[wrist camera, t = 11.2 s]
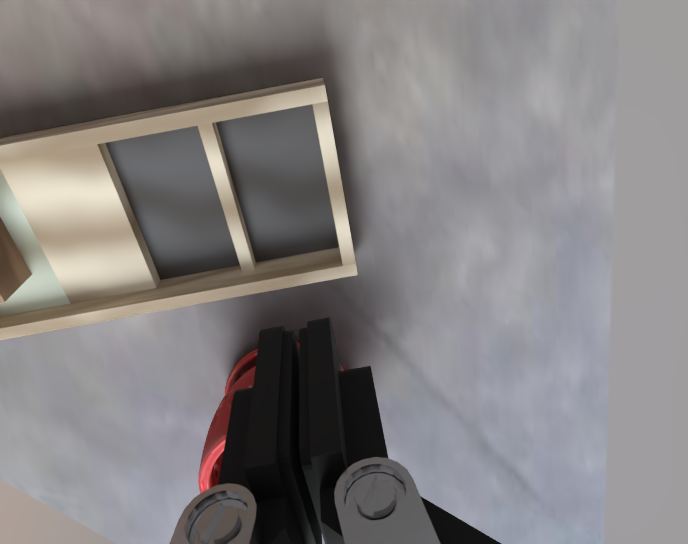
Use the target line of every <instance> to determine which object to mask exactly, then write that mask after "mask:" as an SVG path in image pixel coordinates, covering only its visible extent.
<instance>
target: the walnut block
mask: <svg viewBox="0 0 688 544" xmlns="http://www.w3.org/2000/svg"><path fill="white" fill-rule="evenodd" d="M31 275H32V273H31V271H30V270H29V268H28V266H27V264H26V262H25V261H24V259H23V257H22V255H21V253H20V252H19V250H18V248H17V246H16V244H15V242H14V241H13V239H12V237H11V235H10V233H9V232H8V230H7V228H6V226H5V224H4V223H3V221H2V219H1V217H0V303H3V302H6V300H7V299H8V298H9V297H10V296H11V295H12V294H13V293H14V292H15V291H16V290H17V289H18V288H19V287H20V286H21V285H22V284H23V283H24V282H25V281H26V280H27V279H28V278H29V277H30V276H31Z"/></svg>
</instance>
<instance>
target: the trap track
mask: <svg viewBox="0 0 688 544" xmlns="http://www.w3.org/2000/svg"><path fill="white" fill-rule="evenodd" d="M0 217H1V219H2V221H3V223H4V224H5V226H6V228H7V230H8V232H9V233H10V235H11V237H12V239H13V241H14V242H15V244H16V246H17V248H18V250H19V252H20V253H21V255H22V257H23V259H24V261H25V262H26V264H27V266H28V268H29V270H30V271H31V273H32V275H31V276H30V277H29V278H28V279H27V280H26V281H25V282H24V283H23V284H22V285H21V286H20V287H19V288H18V289H17V290H16V291H15V292H14V293H13V294H12V295H11V296H10V297H9V298H8V299H7V300H6V302H3V303H0V340H4V339H9V338H15V337H20V336H25V335H31V334H36V333H42V332H47V331H53V330H58V329H64V328H69V327H75V326H80V325H86V324H91V323H97V322H102V321H108V320H113V319H119V318H124V317H130V316H135V315H141V314H146V313H152V312H157V311H163V310H168V309H174V308H179V307H185V306H190V305H195V304H201V303H206V302H212V301H217V300H223V299H228V298H234V297H239V296H245V295H250V294H256V293H261V292H267V291H272V290H278V289H283V288H289V287H294V286H300V285H305V284H311V283H316V282H322V281H327V280H333V279H338V278H344V277H349V276H355V275H358V273H357V267H356V262H355V256H354V250H353V244H352V239H351V233H350V227H349V221H348V215H347V210H346V204H345V198H344V192H343V187H342V181H341V175H340V169H339V164H338V158H337V152H336V146H335V140H334V135H333V129H332V123H331V117H330V112H329V106H328V100H327V94H326V89H325V84H324V80H323V78H318V79H313V80H308V81H302V82H297V83H292V84H286V85H281V86H275V87H270V88H265V89H259V90H254V91H249V92H243V93H238V94H233V95H227V96H222V97H217V98H211V99H206V100H201V101H195V102H190V103H184V104H179V105H174V106H168V107H163V108H158V109H152V110H147V111H142V112H136V113H131V114H126V115H120V116H115V117H110V118H104V119H99V120H93V121H88V122H83V123H77V124H72V125H67V126H61V127H56V128H51V129H45V130H40V131H35V132H29V133H24V134H19V135H13V136H8V137H3V138H0Z"/></svg>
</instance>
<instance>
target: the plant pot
mask: <svg viewBox="0 0 688 544" xmlns="http://www.w3.org/2000/svg"><path fill="white" fill-rule="evenodd" d="M297 345H298V348H299V342H297ZM257 351H258V349H256V350H254V351H252V352H250V353H249V354H247V355H246V356H245V357H243V358H242V359H241V360H240V361H239V362H238V363H237V364H236V366H235V367H234V368H233V370H232V371H231V373H230V375H229V378H228V380H227V383H226V387H225V396H224V398H223V400H222V401H221V403H220V405H219V407H218V409H217V411H216V413H215V415H214V418H213V420H212V422H211V425H210V428H209V431H208V435H207V438H206V442H205V445H204V449H203V454H202V459H201V464H200V470H199V489H200V493H202V492H203V491H205V490H207V489H209V488H212V487H214V486H216V485H218V482H219V476H220V470H221V464H222V459H223V453H224V447H225V441H226V435H227V429H228V423H229V418H230V412H231V406H232V400H233V396H234V392H235V391H236V390H240V389H245V388H251V387H253V384H254V376H255V368H256V359H257ZM340 365H341V364H340ZM341 370H342V371H345V370H344V368H343V367H342V365H341Z"/></svg>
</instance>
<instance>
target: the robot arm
mask: <svg viewBox="0 0 688 544" xmlns="http://www.w3.org/2000/svg"><path fill="white" fill-rule="evenodd" d="M322 535H323V538H324V541H325V544H501V543H499V542H497V541H496V540H494V539H492V538H491V537H489V536H487V535H485V534H484V533H482V532H480V531H479V530H477V529H475V528H474V527H472V526H470V525H468V524H467V523H465V522H463V521H462V520H460V519H458V518H456V517H455V516H453V515H451V514H450V513H448V512H446V511H445V510H443V509H441V508H439V507H438V506H436V505H434V504H433V503H431V502H429V501H427V500H426V499H424V498H422V497H421V496H420V495H419V492H418V490H417V487H416V485H415V483H414V480H413V478H412V477H411V475H410V474H409V472H408V470H407V469H406V468H405V467H403V466H402V465H401V464H399V463H398V462H396V461H393V460H391V459H388V454H387V449H386V444H385V439H384V434H383V429H382V423H381V418H380V413H379V408H378V403H377V398H376V392H375V387H374V382H373V377H372V372H371V367H370V366H367V367H362V368H356V369H351V370H345V371H342V370H341V365H340V361H339V356H338V351H337V347H336V342H335V338H334V333H333V328H332V324H331V320H330V318H324V319H319V320H313V321H308V322H307V328H303V329H300V331H299V348H298V345H297V341H296V337H295V334H294V331H293V330H292V331H286V330H285V328H284V326H280V327H275V328H269V329H264V330H261V331H260V335H259V343H258V351H257V359H256V368H255V376H254V384H253V387H251V388H245V389H240V390H236V391H235V392H234V396H233V400H232V406H231V412H230V418H229V423H228V429H227V435H226V441H225V447H224V453H223V459H222V464H221V470H220V476H219V482H218V485H216V486H214V487H212V488H209V489H207V490H205V491H203V492H202V493H201V494H199V495H198V496H197V497H195V498H194V499H193V500H192V501H191V502H190V503H189V505H188V506H187V507H186V508H185V509H184V511H183V513H182V515H181V517H180V519H179V521H178V523H177V526H176V528H175V531H174V534H173V536H172V539H171V541H170V544H322Z"/></svg>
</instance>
